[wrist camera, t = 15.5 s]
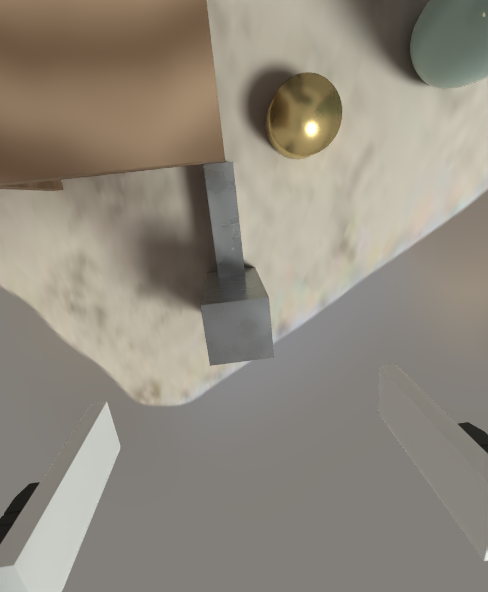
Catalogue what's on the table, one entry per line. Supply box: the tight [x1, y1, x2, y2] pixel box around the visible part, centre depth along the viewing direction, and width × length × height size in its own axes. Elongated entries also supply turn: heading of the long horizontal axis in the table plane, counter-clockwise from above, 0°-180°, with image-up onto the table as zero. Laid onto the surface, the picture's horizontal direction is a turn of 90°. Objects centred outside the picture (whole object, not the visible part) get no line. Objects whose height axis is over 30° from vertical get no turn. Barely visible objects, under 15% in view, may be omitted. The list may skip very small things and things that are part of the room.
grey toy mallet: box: [200, 161, 274, 366], centre depth 26 cm, size 15×5×10 cm, turn 6°
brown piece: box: [0, 0, 225, 191], centre depth 21 cm, size 14×16×10 cm
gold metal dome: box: [266, 73, 342, 159], centre depth 26 cm, size 6×6×3 cm
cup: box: [410, 0, 488, 89], centre depth 22 cm, size 8×8×10 cm
